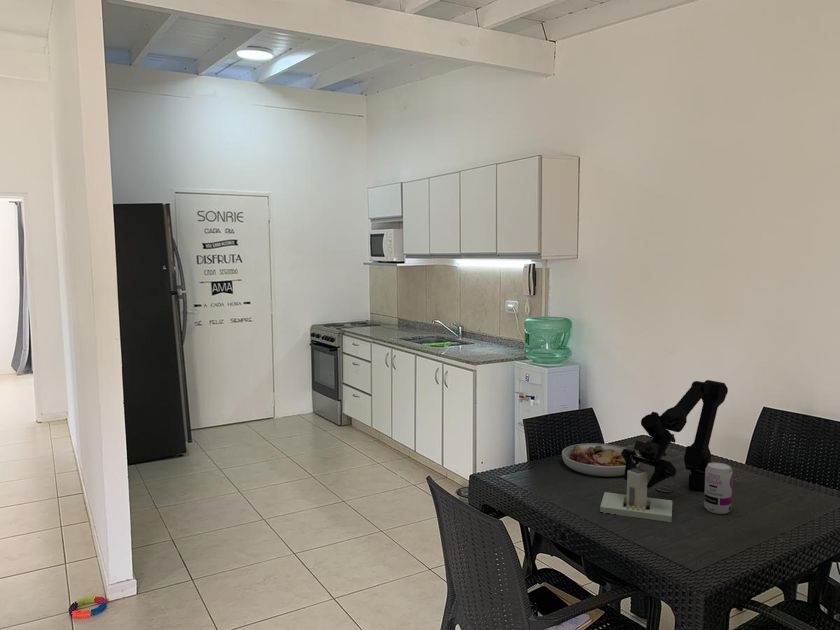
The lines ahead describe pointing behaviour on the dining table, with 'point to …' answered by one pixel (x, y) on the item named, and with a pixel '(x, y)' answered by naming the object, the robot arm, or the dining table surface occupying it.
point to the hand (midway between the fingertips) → (635, 483)
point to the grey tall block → (637, 488)
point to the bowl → (596, 459)
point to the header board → (657, 511)
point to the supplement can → (718, 488)
